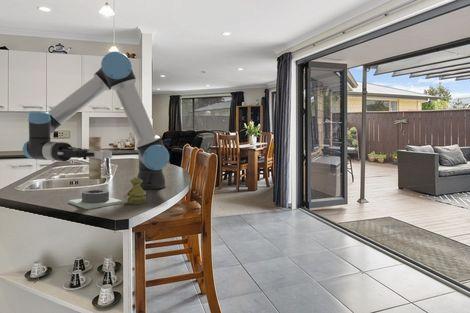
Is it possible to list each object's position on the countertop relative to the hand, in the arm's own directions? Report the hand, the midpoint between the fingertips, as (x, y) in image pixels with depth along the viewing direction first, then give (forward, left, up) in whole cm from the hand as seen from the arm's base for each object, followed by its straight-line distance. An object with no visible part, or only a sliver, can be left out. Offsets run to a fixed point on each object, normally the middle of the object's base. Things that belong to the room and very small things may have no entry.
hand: (106, 154), depth 120 cm
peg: (+2, -5, -9) cm, 11 cm away
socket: (+2, -5, -19) cm, 20 cm away
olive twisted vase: (-10, +5, -19) cm, 22 cm away
